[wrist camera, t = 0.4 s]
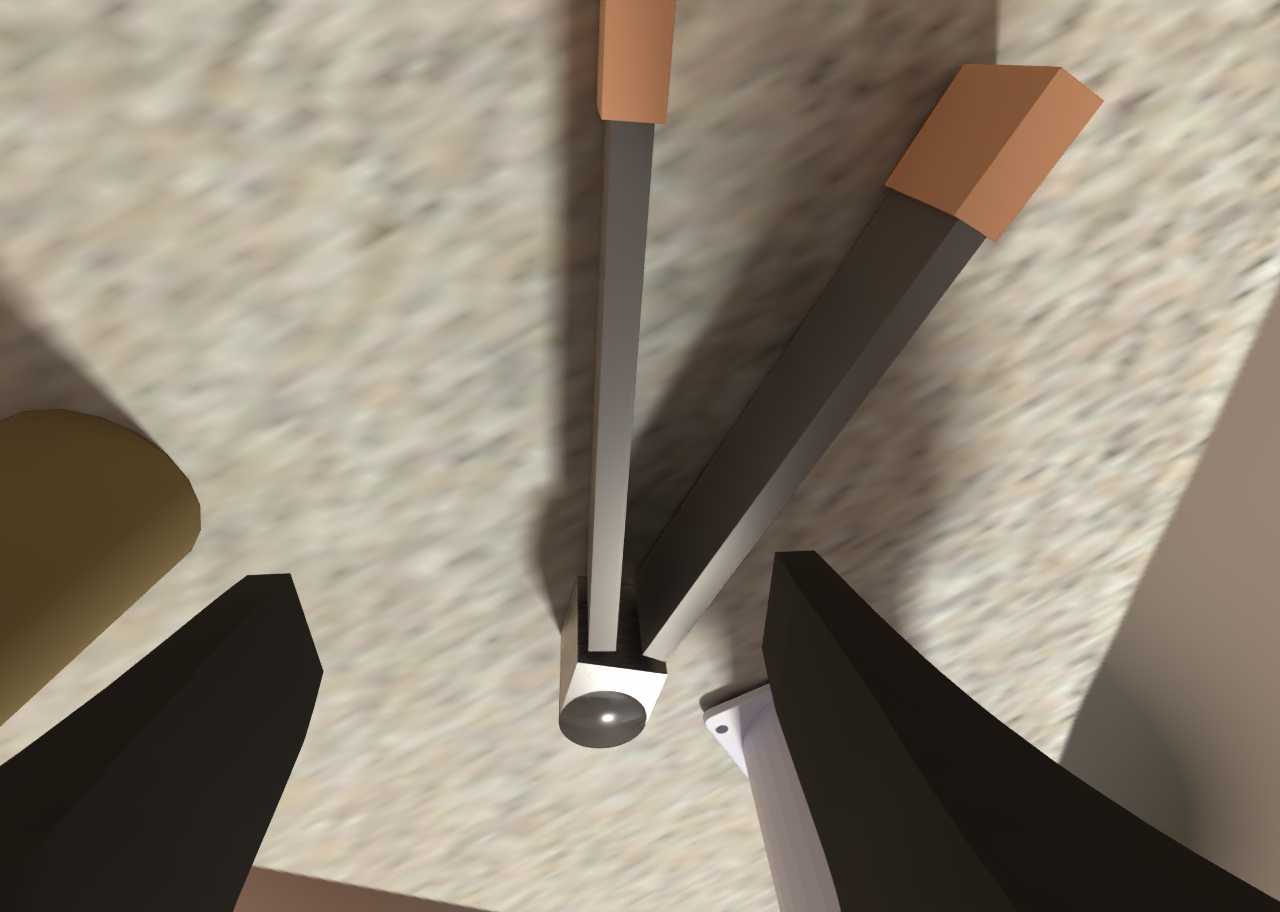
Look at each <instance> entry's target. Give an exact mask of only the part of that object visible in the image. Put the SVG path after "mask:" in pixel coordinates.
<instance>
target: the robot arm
mask: <svg viewBox="0 0 1280 912" xmlns="http://www.w3.org/2000/svg"><path fill="white" fill-rule="evenodd" d="M762 650H763V655H764V660H765V665H766V670H767V675H768V679H769V684H766V685H764V686H762V687H759V688H757V689H754V690H752V691H750V692H747V693H745V694H743V695H740V696H738V697H736V698H733V699H731V700H728V701H726V702H724V703H721V704H719V705H717V706H714V707H712V708H710V709H708V710H707V711H706V712H705V713H704V714H703V720H704V724H705V727H706V728H707V729H708V730H709V732H710V733H711V734H712V735H713V736H714V738H715V739H716V740H717V741H718V743H719V744H720V745H721V746H722V747H723V749H724V750H725V751H726V752H727V754H728V755H729V756H730V757H731V759H732V760H733V761H734V762H735V763H736V765H737V766H738V767H739V768H740V770H741V771H742V772H743V773H744V774H745V776H746V777H747V778H748V779H749V781H750V785H751V789H752V794H753V798H754V802H755V806H756V811H757V815H758V819H759V823H760V828H761V832H762V836H763V840H764V845H765V849H766V853H767V857H768V862H769V866H770V870H771V874H772V879H773V883H774V887H775V891H776V896H777V900H778V904H779V908H780V912H1280V902H1279V901H1278V900H1276V899H1274V898H1272V897H1271V896H1269V895H1267V894H1265V893H1264V892H1262V891H1260V890H1258V889H1257V888H1255V887H1253V886H1251V885H1250V884H1248V883H1246V882H1245V881H1243V880H1241V879H1239V878H1237V877H1236V876H1234V875H1233V874H1231V873H1229V872H1227V871H1226V870H1224V869H1222V868H1220V867H1219V866H1217V865H1215V864H1214V863H1212V862H1210V861H1208V860H1207V859H1205V858H1203V857H1201V856H1200V855H1198V854H1196V853H1195V852H1193V851H1191V850H1190V849H1188V848H1187V847H1184V846H1183V845H1182V844H1180V843H1178V842H1177V841H1175V840H1173V839H1172V838H1170V837H1169V836H1167V835H1165V834H1164V833H1162V832H1160V831H1159V830H1157V829H1155V828H1154V827H1152V826H1151V825H1149V824H1147V823H1146V822H1144V821H1143V820H1141V819H1140V818H1138V817H1137V816H1135V815H1134V814H1132V813H1130V812H1129V811H1128V810H1126V809H1124V808H1123V807H1121V806H1120V805H1118V804H1117V803H1115V802H1114V801H1112V800H1111V799H1109V798H1108V797H1106V796H1104V795H1103V794H1102V793H1100V792H1099V791H1097V790H1095V789H1094V788H1092V787H1091V786H1089V785H1088V784H1086V783H1085V782H1083V781H1082V780H1081V779H1079V778H1077V777H1076V776H1075V775H1073V774H1072V773H1070V772H1069V771H1068V770H1066V769H1064V768H1063V767H1062V766H1060V765H1059V764H1057V763H1056V762H1055V761H1053V760H1052V759H1050V758H1049V757H1048V756H1046V755H1045V754H1044V753H1042V752H1041V751H1040V750H1038V749H1037V748H1036V747H1034V746H1033V745H1032V744H1030V743H1029V742H1028V741H1026V740H1025V739H1024V738H1022V737H1021V736H1019V735H1018V734H1017V733H1015V732H1014V731H1013V730H1011V729H1010V728H1009V727H1007V726H1006V725H1005V724H1003V723H1002V722H1001V721H999V720H998V719H997V718H996V717H994V716H993V715H992V714H991V713H989V712H988V711H987V710H986V709H984V708H983V707H982V706H981V705H979V704H978V703H977V702H976V701H974V700H973V699H972V698H971V697H970V696H969V695H967V694H966V693H965V692H964V691H963V690H961V689H960V688H959V687H958V686H957V685H955V684H954V683H953V682H952V681H951V680H950V679H948V678H947V677H946V676H945V675H944V674H942V673H941V672H940V671H939V670H938V669H937V668H935V667H934V666H933V665H932V664H931V663H930V662H929V661H928V660H926V659H925V658H924V657H923V656H922V655H921V654H920V653H919V652H918V651H917V650H915V649H914V648H913V647H912V646H911V645H910V644H909V643H908V642H907V641H906V640H905V639H904V638H903V637H902V636H900V635H899V634H898V633H897V632H896V631H895V630H894V629H893V628H892V627H891V626H890V625H889V624H888V623H887V622H886V621H885V620H884V619H883V618H882V617H880V616H879V615H878V614H877V613H876V612H875V611H874V610H873V609H872V608H871V607H870V606H869V605H868V604H867V603H866V602H865V601H864V600H863V599H862V598H861V597H860V596H859V595H858V594H857V593H856V592H855V591H854V590H853V589H852V588H851V587H850V586H849V585H848V584H847V583H846V582H845V581H844V580H843V579H842V578H841V577H840V576H839V575H838V574H837V573H836V572H835V571H834V570H833V569H832V568H831V567H830V566H829V565H828V564H827V563H826V562H825V561H824V560H823V559H822V558H821V557H820V556H819V555H818V554H817V553H816V552H815V551H791V552H775V557H774V564H773V572H772V579H771V586H770V594H769V601H768V608H767V616H766V623H765V630H764V638H763V645H762ZM322 675H323V669H322V666H321V663H320V660H319V657H318V654H317V651H316V648H315V645H314V642H313V639H312V636H311V633H310V630H309V627H308V624H307V621H306V618H305V615H304V612H303V609H302V606H301V603H300V600H299V598H298V595H297V592H296V589H295V586H294V583H293V580H292V577H291V574H290V573H286V574H264V575H247V576H246V577H244V578H243V579H242V580H240V581H239V582H238V583H236V584H235V585H233V586H232V587H231V588H230V589H228V590H227V591H226V592H224V593H223V594H222V595H221V596H219V597H218V598H217V599H216V600H214V601H213V602H212V603H211V604H209V605H208V606H207V607H206V608H204V609H203V610H202V611H201V612H200V613H198V614H197V615H196V616H195V617H193V618H192V619H191V620H190V621H188V622H187V623H186V624H185V625H184V626H182V627H181V628H180V629H179V630H177V631H176V632H175V633H174V634H172V635H171V636H170V637H169V638H168V639H166V640H165V641H164V642H163V643H161V644H160V645H159V646H158V647H156V648H155V649H154V650H153V651H151V652H150V653H149V654H148V655H146V656H145V657H144V658H143V659H141V660H140V661H139V662H138V663H136V664H135V665H134V666H133V667H131V668H130V669H129V670H128V671H126V672H125V673H124V674H123V675H121V676H120V677H119V678H118V679H116V680H115V681H114V682H113V683H111V684H110V685H109V686H107V687H106V688H105V689H104V690H102V691H101V692H100V693H98V694H97V695H96V696H94V697H93V698H92V699H90V700H89V701H88V702H86V703H85V704H84V705H82V706H81V707H80V708H78V709H77V710H76V711H74V712H73V713H72V714H70V715H69V716H68V717H66V718H65V719H64V720H62V721H61V722H60V723H58V724H57V725H56V726H54V727H53V728H52V729H50V730H49V731H48V732H46V733H45V734H44V735H42V736H41V737H40V738H38V739H37V740H36V741H34V742H33V743H32V744H30V745H29V746H27V747H26V748H25V749H23V750H22V751H21V752H19V753H18V754H17V755H15V756H14V757H12V758H11V759H9V760H8V761H7V762H5V763H4V764H2V765H1V766H0V912H233V910H234V907H235V905H236V902H237V900H238V897H239V895H240V892H241V890H242V888H243V885H244V883H245V880H246V878H247V876H248V873H249V871H250V869H251V866H252V864H253V862H254V859H255V857H256V855H257V852H258V850H259V848H260V845H261V843H262V840H263V838H264V836H265V833H266V831H267V829H268V826H269V824H270V822H271V819H272V817H273V815H274V812H275V810H276V807H277V805H278V803H279V800H280V798H281V796H282V793H283V791H284V788H285V786H286V784H287V781H288V779H289V776H290V774H291V772H292V769H293V767H294V764H295V762H296V760H297V757H298V755H299V752H300V750H301V747H302V745H303V742H304V740H305V737H306V733H307V730H308V727H309V723H310V720H311V716H312V713H313V710H314V706H315V702H316V698H317V694H318V691H319V687H320V683H321V679H322Z"/></svg>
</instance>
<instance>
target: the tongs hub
mask: <svg viewBox="0 0 1280 912" xmlns="http://www.w3.org/2000/svg"><path fill="white" fill-rule="evenodd" d="M666 677H667V669H666V662H664V661H660V660H657V659H654V658H651V657H648V656H645V655H643V654H642V644H641V635H640V626H639V617H638V607H637V598H636V589H635V586H631V585H625V584H621V585H620V599H619V613H618V626H617V640H616V651H588V602H587V578H582V577H577V580H576V583H575V586H574V590H573V593H572V596H571V599H570V603H569V606H568V609H567V612H566V616H565V619H564V622H563V625H562V629H561V660H560V697H559V727H560V729H561V731H562V733H563V734H564V735H565V737H567V738H568V739H569V740H570V741H572V742H574V743H576V744H578V745H581V746H585V747H590V748H610V747H615V746H619V745H622V744H624V743H627V742H629V741H630V740H632V739H634V738H635V737H636V736H638V735H639V734H640V733H641V731H642V730H643V729H644V727H645V725H646V723H647V720H648V718H649V716H650V713H651V711H652V709H653V707H654V704H655V702H656V700H657V697H658V695H659V693H660V690H661V688H662V686H663V684H664V681H665V679H666Z"/></svg>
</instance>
